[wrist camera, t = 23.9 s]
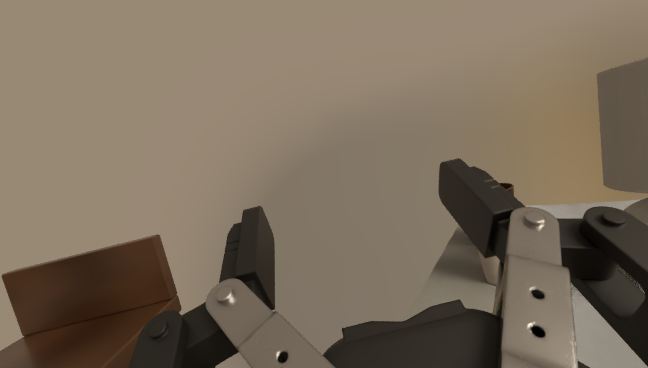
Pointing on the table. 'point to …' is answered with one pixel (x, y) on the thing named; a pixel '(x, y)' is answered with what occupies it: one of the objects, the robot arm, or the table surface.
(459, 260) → the table surface
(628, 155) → the table lamp
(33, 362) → the tall wooden pedestal
